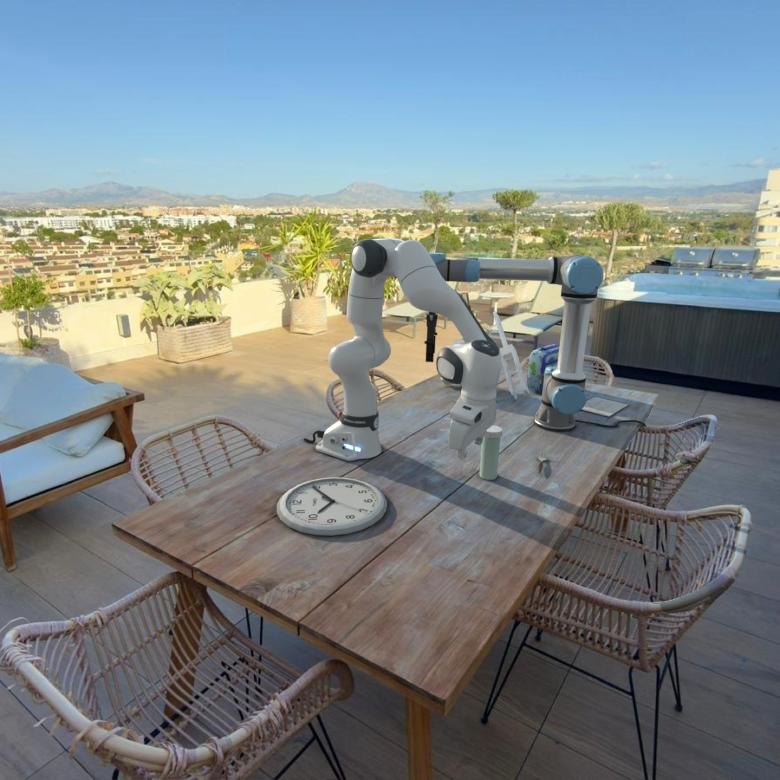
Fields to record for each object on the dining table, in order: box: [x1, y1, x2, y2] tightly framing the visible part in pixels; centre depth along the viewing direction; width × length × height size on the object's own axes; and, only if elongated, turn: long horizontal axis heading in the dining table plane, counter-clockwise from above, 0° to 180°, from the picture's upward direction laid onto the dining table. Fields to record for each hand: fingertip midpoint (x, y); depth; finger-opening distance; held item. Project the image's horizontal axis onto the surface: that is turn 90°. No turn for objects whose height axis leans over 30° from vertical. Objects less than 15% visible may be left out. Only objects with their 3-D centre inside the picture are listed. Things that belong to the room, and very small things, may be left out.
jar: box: [478, 437, 501, 481], centre depth 159 cm, size 5×5×15 cm
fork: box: [538, 449, 548, 474], centre depth 169 cm, size 3×16×2 cm, turn 160°
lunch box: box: [526, 343, 560, 394], centre depth 247 cm, size 26×11×21 cm, turn 134°
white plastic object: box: [440, 310, 531, 400], centre depth 245 cm, size 37×45×31 cm
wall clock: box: [276, 476, 388, 537], centre depth 142 cm, size 30×2×30 cm
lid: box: [484, 424, 503, 438], centre depth 157 cm, size 6×6×2 cm
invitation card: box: [580, 396, 629, 418], centre depth 226 cm, size 21×1×15 cm
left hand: (470, 450), depth 138 cm, fingers open, 8 cm apart
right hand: (430, 357), depth 190 cm, fingers open, 13 cm apart
